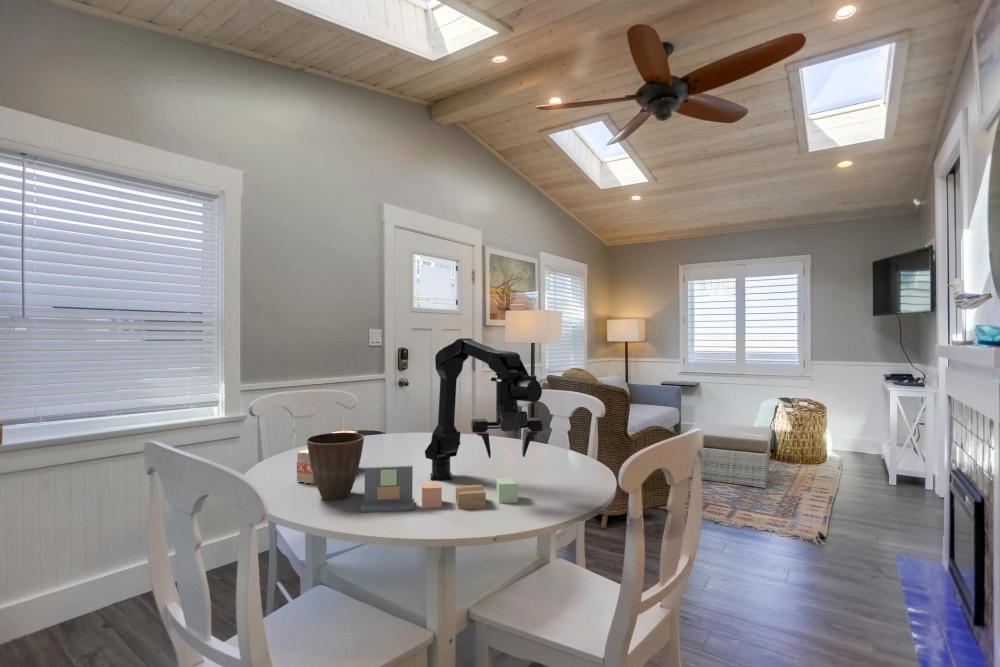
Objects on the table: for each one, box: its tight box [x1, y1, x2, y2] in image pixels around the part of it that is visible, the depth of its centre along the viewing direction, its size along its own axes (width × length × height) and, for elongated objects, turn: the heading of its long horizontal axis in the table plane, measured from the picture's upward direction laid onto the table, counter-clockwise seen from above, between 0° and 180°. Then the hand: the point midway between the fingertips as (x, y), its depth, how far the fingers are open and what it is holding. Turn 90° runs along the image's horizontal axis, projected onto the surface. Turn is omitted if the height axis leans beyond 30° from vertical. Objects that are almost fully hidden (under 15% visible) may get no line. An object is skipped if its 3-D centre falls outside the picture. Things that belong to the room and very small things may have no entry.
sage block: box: [496, 477, 519, 504], centre depth 136 cm, size 5×5×5 cm
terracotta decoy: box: [421, 481, 443, 509], centre depth 132 cm, size 5×5×5 cm
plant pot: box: [306, 432, 365, 501], centre depth 139 cm, size 15×15×16 cm
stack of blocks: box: [296, 430, 359, 485], centre depth 160 cm, size 21×6×12 cm, turn 159°
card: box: [360, 465, 416, 513], centre depth 130 cm, size 6×13×10 cm, turn 98°
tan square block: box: [455, 484, 487, 510], centre depth 133 cm, size 7×7×4 cm
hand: (506, 457), depth 136 cm, fingers open, 9 cm apart
